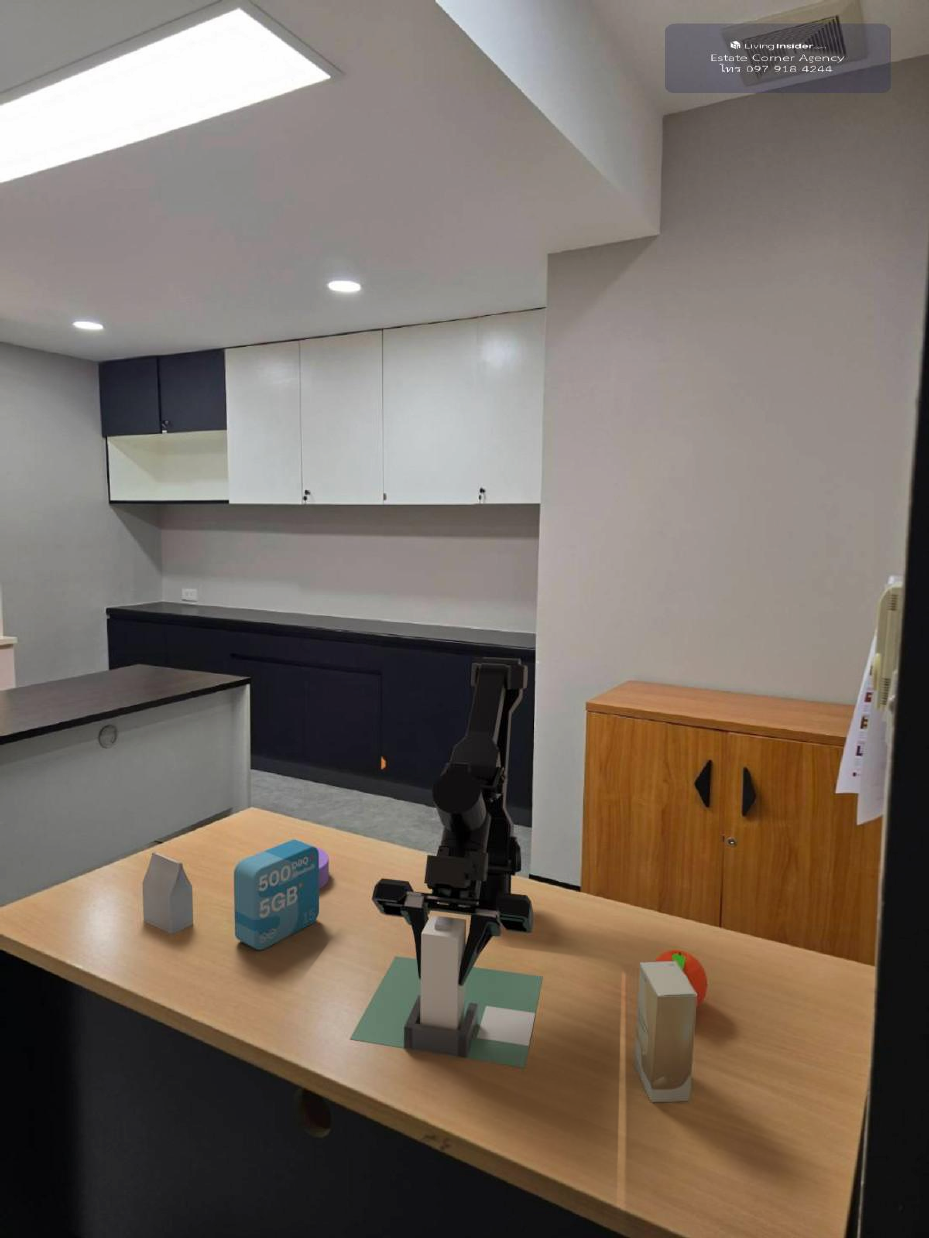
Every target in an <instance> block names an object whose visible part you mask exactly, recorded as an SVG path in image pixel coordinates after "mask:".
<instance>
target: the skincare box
mask: <svg viewBox="0 0 929 1238" xmlns="http://www.w3.org/2000/svg"><path fill="white" fill-rule="evenodd" d="M638 979H639V980H638V995H637V997H638V998H637V1010H636V1026H635V1043H634V1058H633V1061H634V1067H635V1068H636V1072H637V1073H638V1076H639V1078H640V1080H641V1083H642V1085H643V1088H644V1089H645V1092H646V1094H647V1096H648V1098H649V1101H650V1102H651V1103H666V1102H668V1103H669V1102H670V1103H671V1102H672V1103H673V1102H689V1101H690V1099H691V1090H692V1089H691V1088H692V1087H691V1086H692V1072H693V1060H694V1047H695V1046H694V1045H695V1044H694V1043H695V1035H696V1034H695V1029H696V1019H697V1007H698V1006H697V993H696V992H695V990H694V989H693V987H692V985H691V984H690V982H689V980H688V978H687V977H686V975H685V974H684V972H683V971H682V969H681V968H680V966H679V964H678V963H677V961H662V962H654V961H641V962H640V963H639V978H638ZM696 1006H697V1007H696Z"/></svg>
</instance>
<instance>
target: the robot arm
mask: <svg viewBox="0 0 929 1238" xmlns="http://www.w3.org/2000/svg"><path fill="white" fill-rule="evenodd" d="M528 671H529V669H528V665H522V660H521V658H512V657H511V658H509V657H493V656H491V657H489V656H488V657H487V656H482V659H481V662H480V661H479V662H476V663H475V662H474V663H471V680H470V686H471V687H475V689H474V693H473V699H472V703H471V708H470V713H469V719H468V722H467V723H468V724H467V728H466V732H465V737H463V738H462V740H460V741H459V742H457V744H455V745H454V746H453V749H452V753H451V756H450V760H449V762H446V763H445V766H444V768H443V770H442V771H441V773H440V776H439V778H437V780H436V781H435V783H434V784H433V787H432V795H431V796H432V799H433V802H434V805H435V809H436V811H437V815H438V816H439V819H440V822H441V824H442V826H443V829H442V835H441V841H440V845H438V849H437V852H436V855H432V854H427V855H426V864H425V872H424V882H423V883H424V885H425V884H426V886H427V888H428V890H431V892H430V893H429V892H422V891H414V889H413V887H412V885H411V883H410V881H408V880H401V879H393V878H385V877H384V878H383V877H381V879H379V880H378V881H376V884H374V887H373V892H372V896H371V900H372V902H373V904H374V905H375V907H376V909H378V911H379V913H380V914H381V915H384V916H389V917H397V918H403V919H404V920H405V922H406V924H407V925H408V926H411V929H412V934H413V938H414V947H415V954H416V959H417V967H418V976H419V979H420V980H421V933H422V931H423V929H424V927H425V925H426V923H427V922H428V920H429V918H430V916H429V915H430V913H431V911H433V912H437V913H438V912H440V913H449V914H454V915H464V916H470V920H469V921H470V922H469V930H468V935H467V937H466V946H465V950H464V954H463V958H462V962H461V966H460V972H459V980H458V984H459V986H463V984H464V982H465V981H466V979H467V977H468V975H469V973H470V971H471V969H472V968H473V967H475V966H474V965H475V964H476V962H477V960H478V958H479V956H480V955H481V954H482V952H483V951H484V949H485V948H486V946H487V945H488V944H489V942H490V941H491V939H492V938H495V937H496V938H497V937H501V934H502V931H501V928H500V927H501V926H502V927H503V928H504V930H505V931H506V932H514V933H522V934H532V932H533V923H534V907H533V903H532V900H531V899H530V897H529V896H528V894H521V893H520V894H519V893H512V876H513V877H515V876H516V873H519V872H521V871H522V849H521V846H520V844H519V841H518V837H517V836H516V835H514V834H515V824H514V823H513V820H512V817H511V816H510V813H509V812H508V810H507V808H506V801H507V799H506V798H507V786H508V771H509V755H510V741H511V740H510V739H511V725H512V714H513V712H514V711H515V710H516V708H517V707H518V705H519V704H520V703H521V701H522V699H523V695H524V694H523V693H524V692H523V691H524V689H526V688H527V686H528V676H529V675H528V673H529V672H528Z"/></svg>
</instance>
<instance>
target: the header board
mask: <svg viewBox="0 0 929 1238" xmlns="http://www.w3.org/2000/svg"><path fill="white" fill-rule="evenodd" d="M384 974H385V975H384V976H383V978H382V979H381V982H380V984H379V985H378V987H377V988H376V991H375V992H374V994H373V996H372V997H371V1000H370V1001H369V1003H368V1005H367V1007H366V1008H365V1010H364V1012H363V1014H362V1016H361V1017H360V1019H359V1021H358V1023H357V1025H356V1027H355V1029H354V1031H353V1032H352V1034H351V1035H350V1038H349V1040H350V1041H357V1042H363V1043H370V1044H375V1045H383V1046H387V1047H394V1048H401V1049H406V1050H412V1051H418V1052H425V1053H430V1054H438V1055H441V1056H448V1057H449V1056H450V1057H454V1058H461V1059H466V1060H467V1059H468V1060H472V1061H479V1062H486V1063H492V1064H498V1065H502V1066H503V1065H504V1066H508V1067H517V1068H522V1069H525V1068H526V1063H527V1057H528V1055H529V1054H528V1053H529V1049H530V1042H531V1037H532V1032H533V1027H534V1023H535V1018H536V1014H537V1013H536V1012H537V1006H538V1001H539V996H540V992H541V987H542V983H543V976H542V975H536V974H535V975H534V974H528V973H527V974H526V973H521V972H513V971H507V970H506V971H505V970H499V969H492V968H491V969H489V968H486V967H485V968H484V967H477V966H473V968H472V969H471V971H470V973H469V975H468V977H467V979H466V981H465V1007H464V1020H463V1023H462V1026H461V1029H460V1030H454V1029H448V1028H441V1027H435V1026H428V1025H422V1024H420V1007H421V980H420V979H419V976H418V967H417V958H414V957H413V958H411V957H405V956H398V955H395V956H394V958H393V960H392V962H391V964H390V965H389V967H388V968H387V971H386V972H385V973H384Z"/></svg>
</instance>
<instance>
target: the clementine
mask: <svg viewBox="0 0 929 1238" xmlns="http://www.w3.org/2000/svg"><path fill="white" fill-rule="evenodd" d="M662 961H677V963H678V964H679V966H680V968H681V969H682V971H683V972H684V974H685V975H686V977H687V978H688V980H689V982H690V984H691V985H692V987H693V989H694V990H695V992H696V993H697V1006H696V1008H697V1007H698V1006H700V1004H701V1003H702V1002H703V1000H704V999H705V998H706V995H707V994H706V993H707V990H708V977H707V974H706V971H705V969H704V966H703V965H702V964H701V963H700V962H699V960H698V959H697V958H696V957H694V956H693V955H691V954H690V953H688V952H686V951H684V950H680V949H671V950H668V951H665V952H663V953H661V954H660V955H659V956H658V957H656V958H655V959H654V961H653V962H662Z"/></svg>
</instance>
